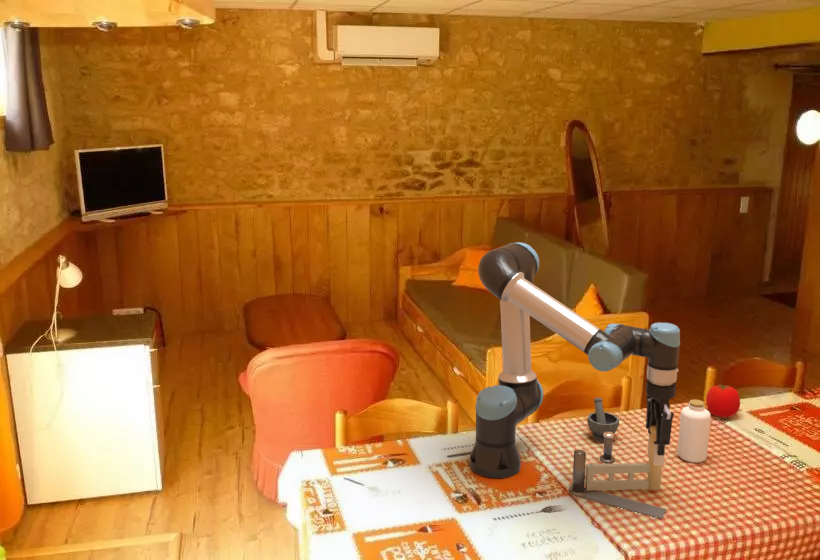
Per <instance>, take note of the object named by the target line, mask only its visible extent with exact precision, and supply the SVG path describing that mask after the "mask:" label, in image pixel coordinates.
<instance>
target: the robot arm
mask: <svg viewBox="0 0 820 560" xmlns="http://www.w3.org/2000/svg"><path fill="white" fill-rule="evenodd" d="M539 269H540V258H539V256H538V253H537V252H536V250H535V249H533V247H532V246H531V245H529V244H527V243H525V242H520V241H519V242H510V243H507V244H505V245H503V246H500V247H497V248H494V249H490V250H488V251H487V252H485V253H484V255H483V256H482V257H481V258H480V259H479V263H478V267H477V274H478V277H479V280H480V281H481V284H482V285H483V287H484V288H485V289H486V290H487V291H488V292H489V293H491V294H492V295H493V296H494V297H496V298H497V299H499V306H500V309H499V310H500V328H501V329H500V331H501V349H502V350H501V353H502V354H501V355H502V371H501V372H500V373H498V376H497V377H498V379H497V380H498V384H496V385H492V386H487V387H485V388H483V389H481V390H480V391H479V392H478V393H477V396H476V398H475V399H476V400H475V401H476V402H475V409H474V410H475V442H474V444H473V447H472V450H471V453H470V455H469V468H470V469H471V470H472V472H474V473H475V474H476V475H479V476H481V477H485V478H489V479H505V478H510V477H513V476H516V474H518V473H519V472H520V471H521V466H522V465H521V463H522V460H521V456H520V453H519V449H518V447H517V443H516V434H517V433H516V428H517V425H519V424H520V423H521V422H523V421H524V420H525V419H527V418H528V417H529V416H531V415H533V414H534V413H535V412H536V411H537V410H538V409H539V408H540V407H541V406H542V403H543V399H544V389H543V386H542V383H540V382H539V380H538V379H537V378H538V376H537V373H536V372H534V371H533V370H532V353H531V352H532V350H531V346H532V345H531V318H530V317H532V318H533V319H535V321H537V322H539V323H541V324H542V325H544V327H546V328H547V329H549V330H551V331H552V332H554V333H555V334H556V335H558V336H559V337H561V338H562V339H563V340H565V341H567V342H568V343H569V344H571V345H573V346H574V347H575V348H577V349H578V350H580V351H581V352H583V353H584V354H586V355H587V358H588V359H587V360H588V362H589V363H590V364H591V367H592V368H594V369H595V370H597V371H599V372H610V371H611V370H614V369H616V368H617V367H618V366H620V365H621V364H622V363H623V362H624V361H625V360H626V359H627V358H629V357H631V356H636V357H641V358H647V360H648V361H647V368H646V379H647V380H646V386H645V393H646V418H645V428H646V429H647V433H648V444H647V458H648V459H649V449H650V436H651V432H650V427H651V426H653V425H656V441H654V457H653V465H662V466H665V453H666V446H670V443H671V435H672V434H671V433H672V425H673V419H674V416H675V414H674V412H673V411H670V407H671V406H670V400H671V399H673V398H675V397H676V393H677V383H676V382H677V379H678V372H680V371H679V368H678V367H679V366H678V364H679V355H680V346H681V341H680V340H681V339H680V338H681V330H680V328H679V326H677V325H676V324H674V323H670V322H654V323H652V324H651V325H650V328H648V329H647V328H643V327H637V326H631V325H626V324H622V323H609V324H608V325H607V326H606V327H605V329H604V330H602V329H601V328H599V327H598V326H596V325H594V324H593V323H592V322H590V321H588V320H587V319H586V318H584V317H582V315H580V314H578V313H577V312H575V311H573V310H572V309H571V308H569V307H568V306H566V305H565V304H563V303H562V302H560V301H559V300H557V299H556V298H554V297H553V296H552V295H550V294H548V293H547V292H545V291H544V290H542V288H539V287H538V286H536V285H535V283H534V277H535V275H537V273H538V271H539Z"/></svg>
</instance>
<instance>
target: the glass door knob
mask: <svg viewBox="0 0 820 560" xmlns="http://www.w3.org/2000/svg"><path fill="white" fill-rule="evenodd" d="M603 436H604V442H603V454H601V455H600V456H599V461H600V462H601V461H602V462H601V463H603V462H605V463H604V464H608V463H610V464H615V461H616V459H615V457H614V456H612V455H613V454H612V453H613V438H614V437H615V433H612V432H604V435H603Z"/></svg>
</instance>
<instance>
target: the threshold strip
mask: <svg viewBox="0 0 820 560" xmlns="http://www.w3.org/2000/svg"><path fill="white" fill-rule="evenodd" d="M571 496H573V494H572V495H571ZM577 498H580V499H585V500H589V501H592V502H595V503H600V504H602V503H603V505H606V504H608V505H607V506H610V505H611V506H610V507H613V506H615V507H614V508H617V507H619V508H618V509H621V508H623V509H622V510H624V509H626V510H625V511H628V510H630V511H629V512H632V511H633V512H632V513H635V512H637V513H636V514H639V513H641V514H640V515H643V514H644V515H643V516H646V515H649V516H648V517H650V516H652V517H651V518H654V517H657V518H661V519H662V520H663V518H664V516H665V514H666V512H665V511H667V509H666V508H664V507H660V506H656V505H652V504H650V503H649V504H648V503H645V502H641V501H638V500H634V499H629V498H626V497H623V496H619V495H615V494H611V493H606V492H603V491H601V490H593V491H588V493H587V494H586V495H582V496H578V497H577ZM664 513H665V514H664ZM663 515H664V516H663ZM657 518H656V519H657ZM661 519H660V520H661Z"/></svg>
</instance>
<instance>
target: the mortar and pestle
mask: <svg viewBox="0 0 820 560" xmlns="http://www.w3.org/2000/svg"><path fill="white" fill-rule="evenodd" d="M593 402H594V410H595V411H594V412H590V413H589V414H588V415H587V421H586V422H587V427H588V429H589V430H590V432H591V433H592V436H591V437H592V439H593V441H596V442H598V443H604V436H603V435H604V432H612V433H614V434H615V433H616V432H617V430H618V428H619V425H620V418H619V417H618V416H617V415H615V414H613V413H610V412H605V411H604V410H605V409H604V406H603V405H604V404H603V397H595V398H594V399H593Z"/></svg>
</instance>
